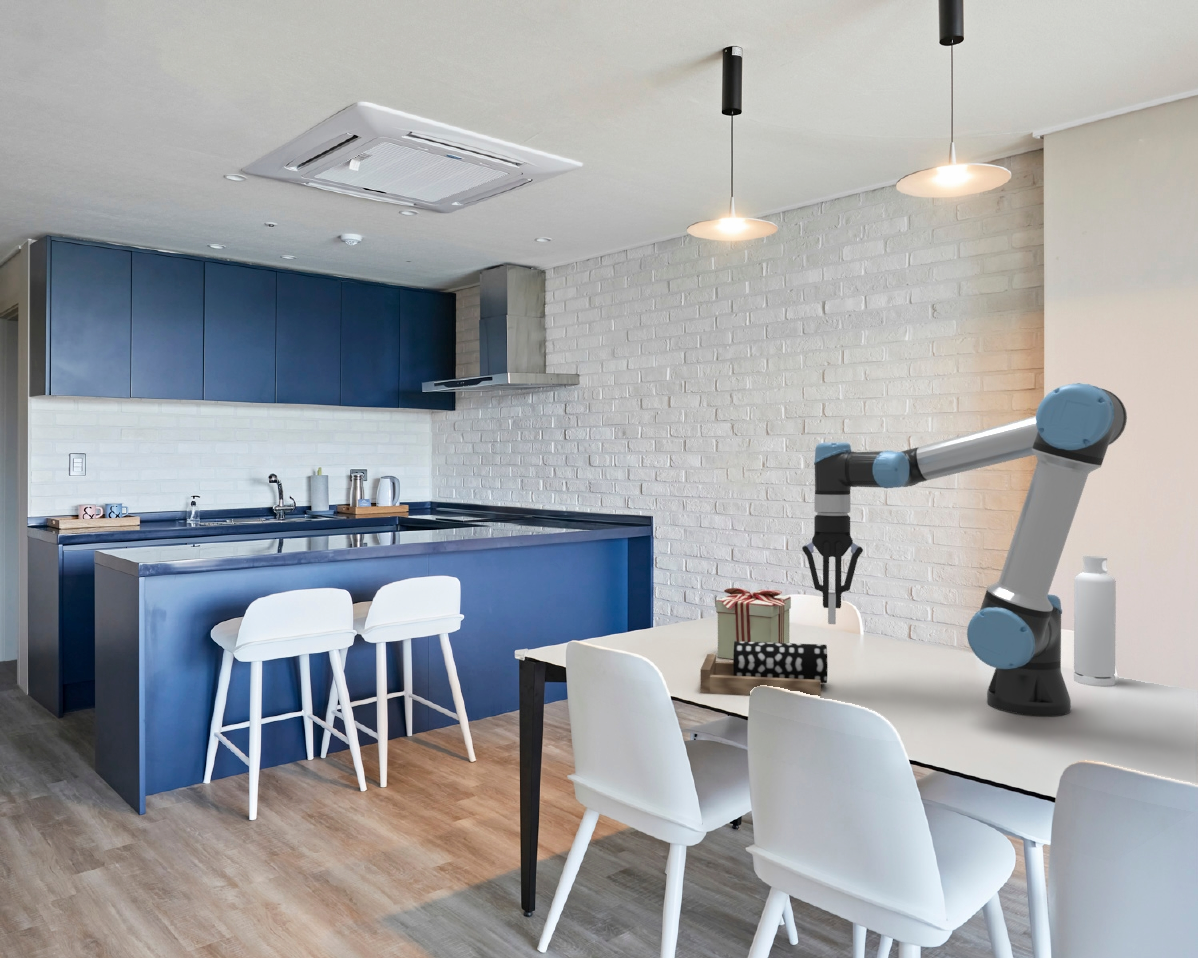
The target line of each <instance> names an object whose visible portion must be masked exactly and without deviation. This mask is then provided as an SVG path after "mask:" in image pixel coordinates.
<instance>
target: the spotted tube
mask: <svg viewBox="0 0 1198 958" xmlns="http://www.w3.org/2000/svg"><path fill="white" fill-rule="evenodd" d="M732 662H733V673H734V676H748V677H769V678H791V679H812V680H821V684H828V668H829V667H828V662H829V661H828V646H827V644H820V643H818V644H817V643H794V642H793V643H791V642H789V643H767V642H740V641H734V654H733V659H732Z"/></svg>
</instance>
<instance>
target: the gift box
mask: <svg viewBox="0 0 1198 958" xmlns="http://www.w3.org/2000/svg"><path fill="white" fill-rule="evenodd" d="M723 592H724V593H726V594H728V595H727V596H724V597H723V598H722V597H720V598H719V599H717V600H716V602H715V605H716V606H715V612H716V613H717V658H719V659H726V660H733V654H734V641H740V642H767V643H790V609H791V608H792V606H791V605H792V597H791V596H790V595H789V596H788V595H782V594H783V592H782V591H781V590H777V589H770V590H768V589H767V590H766V589H758V590H757V591H756V592H755V591H754V592H750V591H748V589H745V588H737V587H729V588H726V589H724V590H723Z"/></svg>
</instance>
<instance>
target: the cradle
mask: <svg viewBox="0 0 1198 958" xmlns="http://www.w3.org/2000/svg"><path fill="white" fill-rule="evenodd" d="M699 669H700V675H699V676H700V693H702V694H715V695H716V694H719V695H737V696H739V695H740V696H750V695H749V694H750V691H751V690H752V689H753V688H754V687H757V686H760V685H767V686H773V687H780V688H784V689H788V690H790V691H800V692H803V693H806V694H810V695H818V696H821V697H822V695H821V694H822V693H821V692H822V690H821V689H822V683H821V680H812V679H791V678H769V677H748V676H734V673H733V661H729V660H728V661H726V660H717V654H715V653H707V654H706V656H705V658H704V661H703V663H702V665H701V668H699Z"/></svg>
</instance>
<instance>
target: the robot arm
mask: <svg viewBox="0 0 1198 958" xmlns="http://www.w3.org/2000/svg"><path fill="white" fill-rule="evenodd" d="M1127 413H1128V412H1127V409H1126V407H1125V405H1124V403H1123V401H1122V400H1121V399H1120V398H1119V397H1118V395H1116V394H1115V393H1113V391H1112V392H1111V391H1109V390H1107V389H1104V388H1101V387H1098V386H1095V385H1093V384H1092V385H1091V384H1089V383H1080V382H1078V383H1071V384H1070V383H1069V384H1065V385H1062V386H1059V387H1057V388H1055V389H1053V390H1051V392H1049V393H1048V394H1046V395H1045V397H1043V399H1042V400H1041V401H1040V403H1039V405H1038V407H1037V410H1036V414H1035V415H1033V416H1030V417H1025V418H1022V419H1018V420H1015V421H1011V422H1007V423H1003V424H999V425H996V426H992V427H987V428H985V429H984V428H983V429H980V430H977V431H973V432H970V433H966V434H962V435H958V436H955V437H950V438H947V439H943V440H940V441H935V442H932V443H929V444H925V445H921V446H917V447H914V448H913V447H912V448H910V449H905V450H902V451H894V450H881V451H880V450H879V451H876V450H875V451H852V445H851V444H850V443H848V442H820V443H818V444H816V447H815V450H814V451H815V453H814V462H813V466H814V505H813V506H814V507H813V508H814V512H815V513H817V514H815V515H814V521H813V523H814V526H813V529H814V530H813V531H814V532H813V533H814V534H813V537H812V539H811V541H810V542H809V543H807V544H805V545H802V548H801V549H802V550H801V551H803V553H804V554H805V557H806V559H807V562H808V565H809V571H810V574H811V579H812V582H813V587H814V590H816V591H819V592H821V593H822V607H823V608H824V609H827V623H828V625H836V623H837V622H836V621H837V620H836V618H837V617H836V615H837V614H836V613H837V612H836V611H837V610H836V609H841V607H842V594H843V593H845V592H848V591H850V590H851V586H852V582H853V578H854V574H855V571H856V567H857V563H858V559H859V558H860V556H861V555H862V552H864V549H863V548H862V546H859V545H858V544H856V543H854V541H853V538H852V536H851V516H850V515H849V514H848V513H851V488H858V487H859V488H879V489H880V488H883V489H893V488H895V489H896V488H902V487H903V488H907V487H912V486H916V485H918V484H919V483H924V482H926V481H930V480H934V479H938V478H944V477H946V476H952V475H955V474H960V473H963V472H969V471H973V470H976V469H980V468H985V467H990V466H994V465H997V464H1002V463H1006V462H1010V461H1011V462H1012V461H1014V460H1019V459H1023V458H1027V457H1032V456H1035V458H1036V461H1037V462H1036V465H1035V468H1034V471H1033V474H1032V477H1031V480H1030V483H1029V487H1028V490H1027V492H1026V496H1025V499H1024V502H1023V505H1022V508H1021V512H1020V514H1019V518H1018V521H1017V524H1016V526H1015V530H1014V534H1013V537H1012V539H1011V543H1010V545H1009V549H1008V552H1007V554H1006V558H1005V560H1004V564H1003V567H1002V569H1001V572H1000V576H999V580H998V581H997V582H996V583H993V584H991V585H989V586H987V588H986V591H985V593H984V594H985V595H984V597H983V600H982V603H981V606H980V609H979V610H978V611H976V612H975V614H974V615H973V616H972V617H971V619H970V621H969V622H968V625H967V629H966V637H967V643H968V645H969V647H970V649H971V651H972V652H973V654H974V655H975V656H976V657H977V659H979V660H980V661H981V662H983V663H984V664H986V665H988V666H990V667H991V668H995V669H994V672H993V675H992V677H991V680H990V683H989V686H988V689H987V692H986V693H987V694H986V702H987V704H988V705H989V706H991V707H992V708H995V709H997V710H1001V711H1003V712H1008V713H1012V714H1020V715H1027V716H1036V717H1037V716H1038V717H1055V716H1063V715H1067V714H1069V713H1071V706H1072V705H1071V704H1072V703H1071V696H1070V693H1069V691H1068V688H1067V685H1066V683H1065V679H1064V676H1063V674H1062V666H1061V665H1062V664H1061V662H1062V661H1061V659H1062V615H1063V609H1062V603H1061V598H1059V596H1058V595H1055V594H1049V592H1050V589H1051V586H1052V583H1053V581H1054V577H1055V574H1056V571H1057V568H1058V566H1059V562H1060V559H1061V556H1062V553H1063V551H1064V548H1065V544H1066V542H1067V538H1068V535H1069V533H1070V529H1071V527H1072V524H1073V521H1074V519H1075V515H1076V512H1077V509H1078V507H1079V503H1080V501H1081V497H1082V495H1083V491H1084V488H1085V486H1086V483H1087V479H1088V476H1089V474H1090V473H1092V472H1094V471H1096V470H1098V469H1099V468H1100V469H1101V468H1102V465H1103V462H1104V459H1105V456H1106V455H1107V454H1106V453H1107V450H1108V447H1109V446H1110V445H1112V444H1114V443H1115V442H1116V441H1117V440H1118V439H1119V438H1120V437H1121V436H1122V434H1123V432H1124V431H1125V429H1126V425H1127V419H1128V414H1127ZM814 547H815V549H816V550H817V551H818V553H819V555H821V557H822V584H821V583H820V581H819V577H818V573H817V571H818V570H817V568H816V564H815V559H814V556H813V553H814V551H815V549H814ZM849 549H850V553H851V556H850V560H849V563H848V567H847V571H846V575H845V580H844V583H843V584H842V561H843V559H842V558H843V557H844V555H845V554H846V552H847V551H848V550H849ZM832 557H833V558H834V592H831V591H830V558H832Z"/></svg>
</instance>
